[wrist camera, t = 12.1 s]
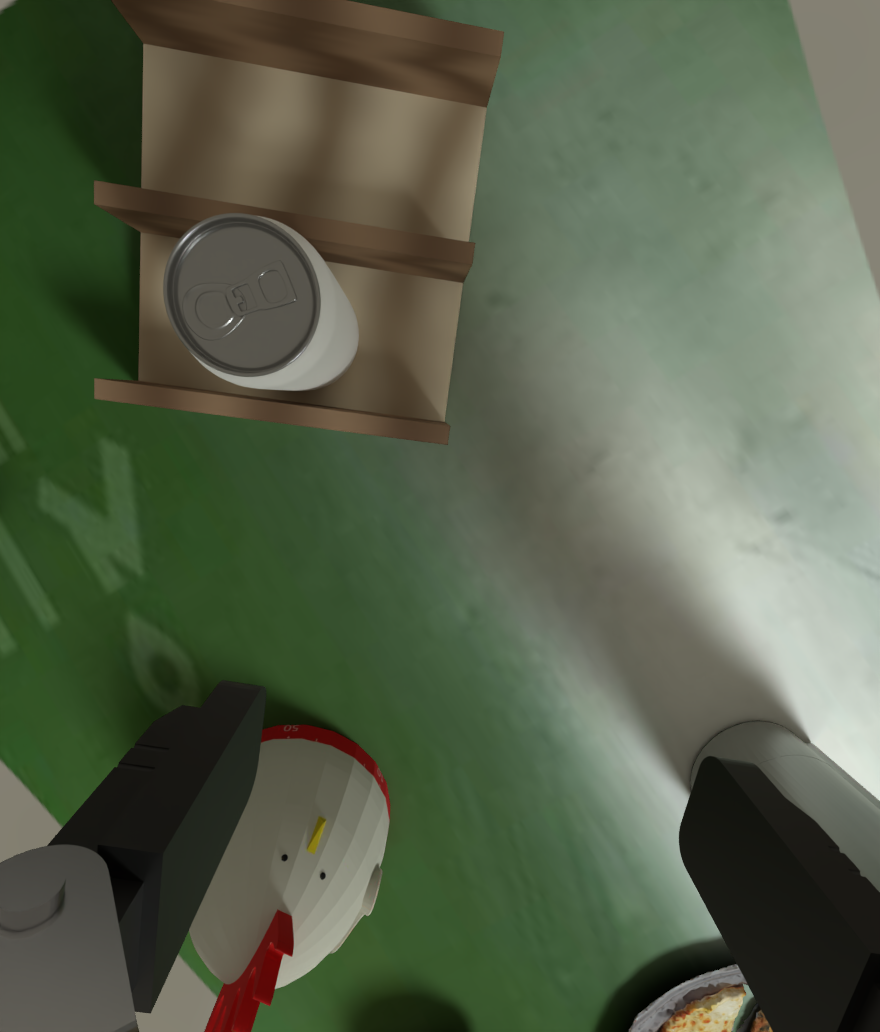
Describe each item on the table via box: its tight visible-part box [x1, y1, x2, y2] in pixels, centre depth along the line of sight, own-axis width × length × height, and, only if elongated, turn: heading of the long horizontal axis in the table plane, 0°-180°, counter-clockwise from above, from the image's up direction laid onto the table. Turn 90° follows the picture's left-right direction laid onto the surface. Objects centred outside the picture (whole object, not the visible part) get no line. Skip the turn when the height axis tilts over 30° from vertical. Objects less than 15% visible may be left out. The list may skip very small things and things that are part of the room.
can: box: [163, 213, 359, 391], centre depth 25 cm, size 6×6×12 cm
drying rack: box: [94, 0, 504, 445], centre depth 29 cm, size 18×19×6 cm
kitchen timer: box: [189, 725, 390, 1032], centre depth 33 cm, size 14×14×15 cm
